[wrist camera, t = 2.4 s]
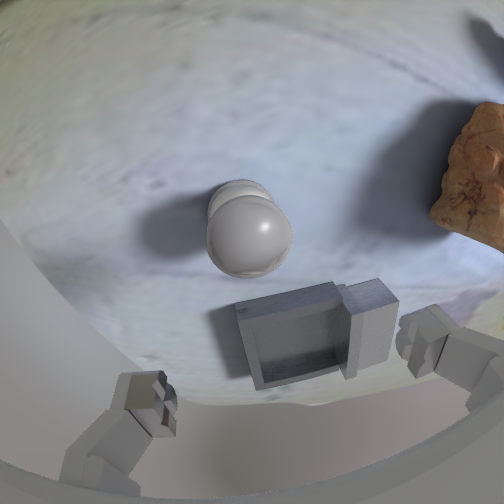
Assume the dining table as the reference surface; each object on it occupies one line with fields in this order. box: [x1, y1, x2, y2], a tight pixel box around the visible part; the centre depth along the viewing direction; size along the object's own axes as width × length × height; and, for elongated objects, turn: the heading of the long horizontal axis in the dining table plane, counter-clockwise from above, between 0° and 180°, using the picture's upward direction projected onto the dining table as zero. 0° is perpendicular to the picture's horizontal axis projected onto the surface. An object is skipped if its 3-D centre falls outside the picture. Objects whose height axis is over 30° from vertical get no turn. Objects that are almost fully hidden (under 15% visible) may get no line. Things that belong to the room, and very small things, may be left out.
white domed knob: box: [206, 179, 292, 279], centre depth 19 cm, size 5×5×6 cm
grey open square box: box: [235, 278, 399, 391], centre depth 25 cm, size 10×14×4 cm
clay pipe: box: [429, 102, 504, 253], centre depth 18 cm, size 19×11×15 cm
